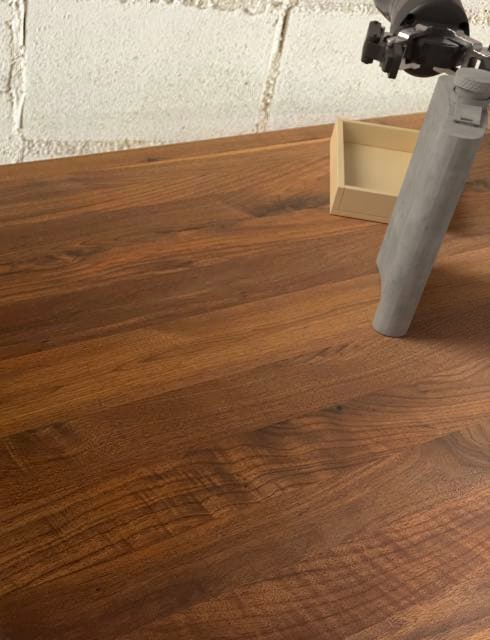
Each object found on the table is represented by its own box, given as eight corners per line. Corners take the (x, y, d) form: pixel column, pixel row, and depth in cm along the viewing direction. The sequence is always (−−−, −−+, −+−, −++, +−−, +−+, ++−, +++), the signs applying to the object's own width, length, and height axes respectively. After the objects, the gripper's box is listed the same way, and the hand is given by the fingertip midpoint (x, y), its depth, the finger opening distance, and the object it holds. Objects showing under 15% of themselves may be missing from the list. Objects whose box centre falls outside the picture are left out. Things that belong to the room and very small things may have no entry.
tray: (421, 157, 112) (430, 131, 109) (436, 231, 96) (446, 204, 94) (329, 142, 113) (336, 117, 110) (329, 214, 97) (337, 186, 95)
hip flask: (376, 254, 91) (448, 41, 77) (415, 262, 91) (496, 49, 77) (371, 332, 80) (454, 99, 66) (416, 342, 80) (510, 109, 65)
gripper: (372, -22, 94) (378, 19, 82) (509, -2, 92) (534, 43, 81) (351, 55, 99) (353, 104, 88) (480, 75, 98) (499, 128, 86)
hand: (440, 75), depth 84 cm, fingers open, 8 cm apart
